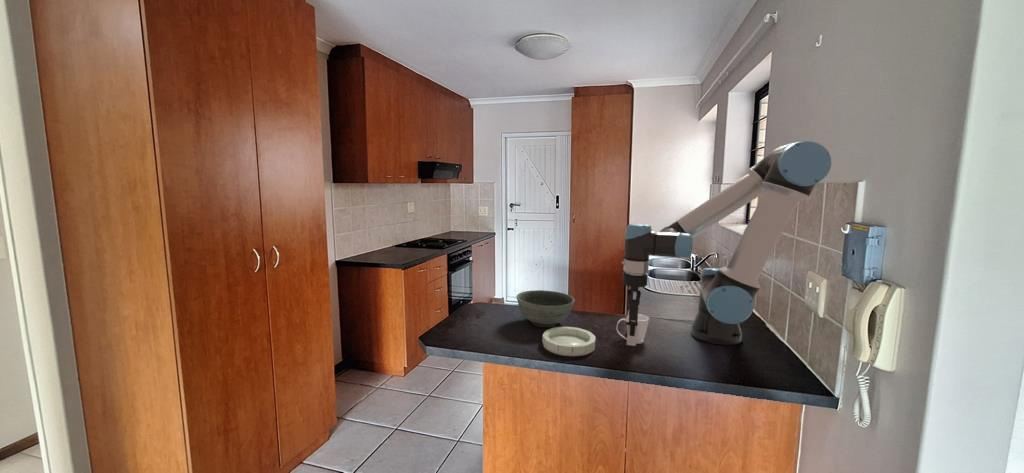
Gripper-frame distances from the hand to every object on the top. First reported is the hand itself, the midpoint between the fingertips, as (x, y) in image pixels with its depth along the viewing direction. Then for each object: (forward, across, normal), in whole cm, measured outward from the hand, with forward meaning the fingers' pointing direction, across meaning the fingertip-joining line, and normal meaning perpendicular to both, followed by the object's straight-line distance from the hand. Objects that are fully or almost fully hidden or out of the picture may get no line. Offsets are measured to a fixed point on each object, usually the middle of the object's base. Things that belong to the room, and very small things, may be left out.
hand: (631, 336), depth 132 cm
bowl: (+2, -7, -30) cm, 31 cm away
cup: (+1, 0, 0) cm, 1 cm away
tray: (+1, +10, -19) cm, 21 cm away
